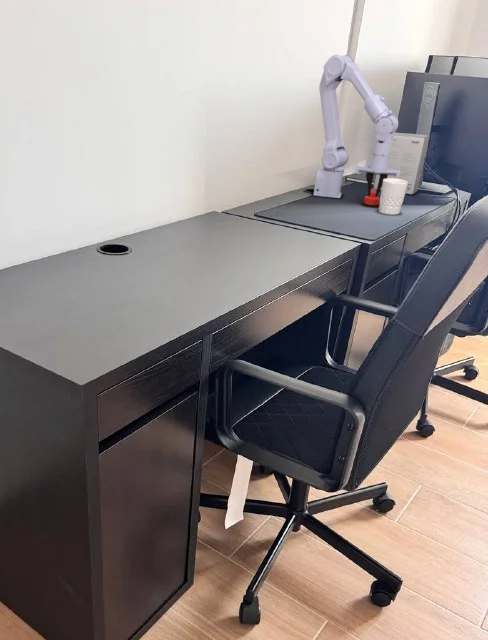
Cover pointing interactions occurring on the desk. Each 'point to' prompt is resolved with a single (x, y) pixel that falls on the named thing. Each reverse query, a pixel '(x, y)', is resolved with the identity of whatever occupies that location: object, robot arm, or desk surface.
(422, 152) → the hard drive box
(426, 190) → the desk surface
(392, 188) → the white cup
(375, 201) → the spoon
